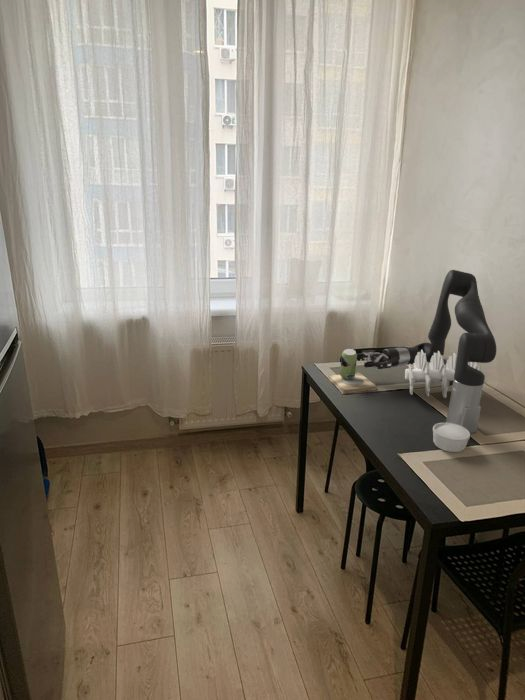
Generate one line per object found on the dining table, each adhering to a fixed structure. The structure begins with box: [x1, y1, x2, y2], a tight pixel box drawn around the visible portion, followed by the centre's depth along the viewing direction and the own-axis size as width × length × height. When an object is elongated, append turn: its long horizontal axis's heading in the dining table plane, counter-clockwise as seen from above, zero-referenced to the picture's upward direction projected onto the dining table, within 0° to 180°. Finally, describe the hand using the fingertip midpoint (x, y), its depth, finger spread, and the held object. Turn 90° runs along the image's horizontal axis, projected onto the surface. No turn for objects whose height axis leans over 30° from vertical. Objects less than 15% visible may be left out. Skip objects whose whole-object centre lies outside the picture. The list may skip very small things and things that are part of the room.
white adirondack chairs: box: [404, 350, 481, 398], centre depth 193 cm, size 18×18×25 cm
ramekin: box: [432, 422, 471, 453], centre depth 161 cm, size 11×11×5 cm
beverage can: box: [339, 348, 358, 379], centre depth 202 cm, size 6×7×12 cm
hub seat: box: [328, 372, 377, 394], centre depth 203 cm, size 14×14×2 cm
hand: (359, 360), depth 201 cm, fingers open, 8 cm apart
